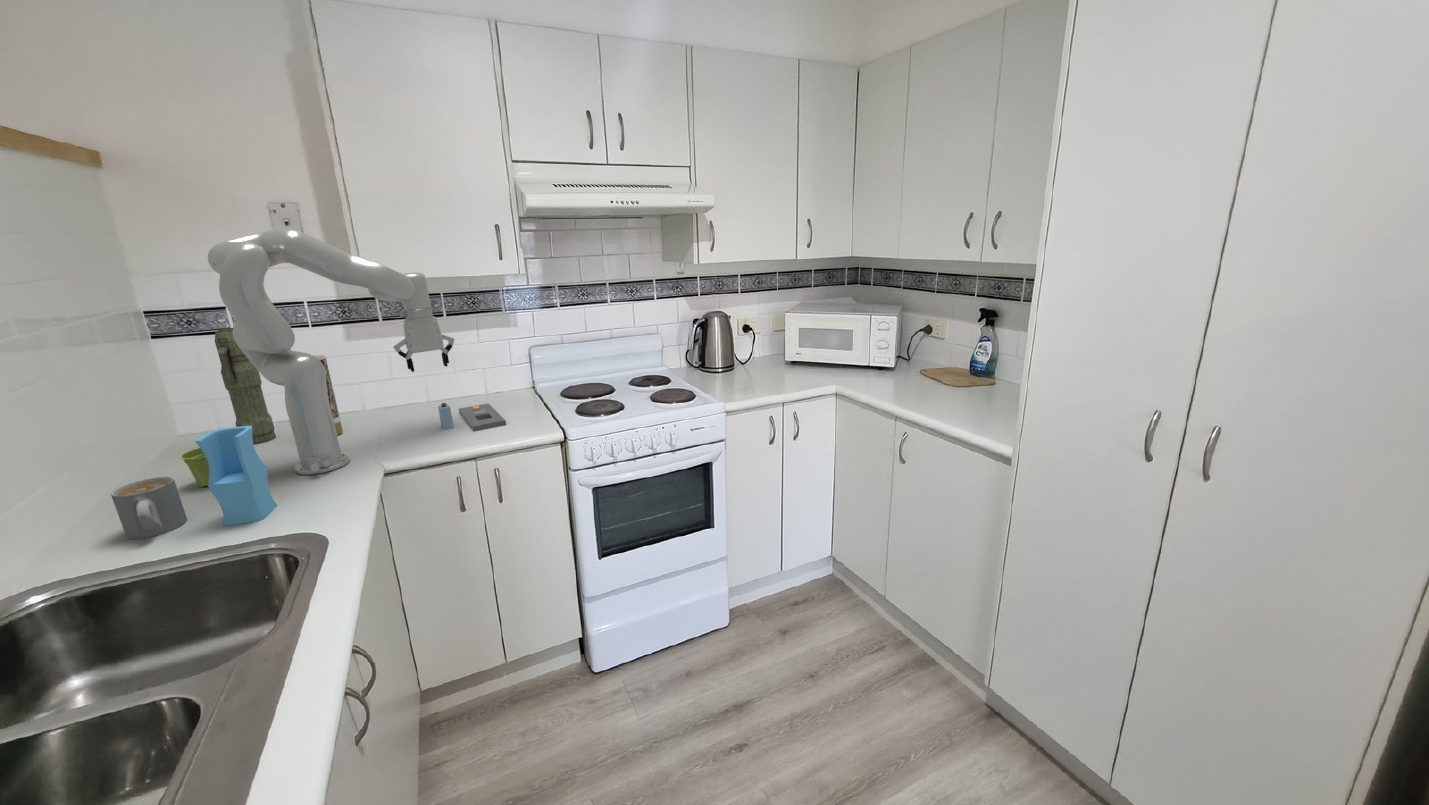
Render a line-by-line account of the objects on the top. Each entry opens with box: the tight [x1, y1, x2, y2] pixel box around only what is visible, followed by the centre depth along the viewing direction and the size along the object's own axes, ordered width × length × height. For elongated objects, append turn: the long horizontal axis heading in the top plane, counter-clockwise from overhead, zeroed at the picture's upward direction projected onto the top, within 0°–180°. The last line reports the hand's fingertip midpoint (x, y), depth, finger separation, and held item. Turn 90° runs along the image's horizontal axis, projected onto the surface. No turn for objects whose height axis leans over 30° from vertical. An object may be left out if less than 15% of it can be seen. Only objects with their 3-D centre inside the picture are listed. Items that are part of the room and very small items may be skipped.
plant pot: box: [179, 447, 209, 488], centre depth 150 cm, size 9×9×9 cm
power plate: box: [458, 403, 507, 432], centre depth 195 cm, size 24×10×2 cm, turn 33°
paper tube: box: [314, 354, 343, 436], centre depth 181 cm, size 7×7×25 cm
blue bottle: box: [437, 402, 455, 431], centre depth 187 cm, size 4×3×8 cm
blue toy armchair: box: [194, 426, 278, 527], centre depth 129 cm, size 8×8×20 cm
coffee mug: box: [110, 476, 188, 540], centre depth 125 cm, size 13×10×10 cm
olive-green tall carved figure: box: [214, 327, 277, 445], centre depth 177 cm, size 9×12×35 cm
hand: (429, 368), depth 183 cm, fingers open, 9 cm apart
